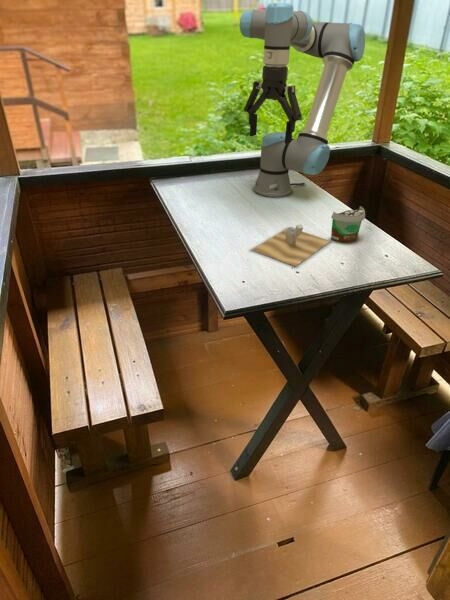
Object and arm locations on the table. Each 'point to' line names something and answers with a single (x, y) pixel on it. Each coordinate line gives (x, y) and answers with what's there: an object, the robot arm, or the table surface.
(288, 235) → the lighter
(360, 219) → the food container
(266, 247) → the wooden board
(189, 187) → the table surface
